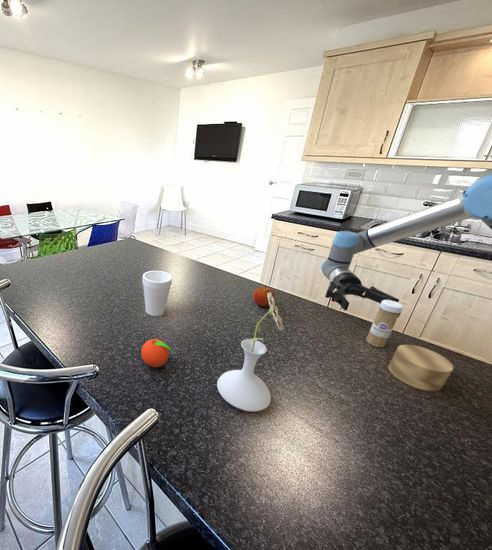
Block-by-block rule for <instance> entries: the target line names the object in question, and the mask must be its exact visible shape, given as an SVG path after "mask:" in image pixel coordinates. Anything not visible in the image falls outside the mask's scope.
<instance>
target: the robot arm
mask: <svg viewBox="0 0 492 550" xmlns="http://www.w3.org/2000/svg"><path fill="white" fill-rule="evenodd" d="M469 219H474V220H481V221H482V222H483V223H484V224H485V225H486V226H487V227H488V228H489V229H490V230H491V231H492V173H491V174H490V173H489V174H487V175H485V176H483V177H481V178H479V179H478V180H476V181H475V182H473V183H472V184H471V185H469V187H468V188H467V189H465V190H464V191H462V192H461V193H460V195H459V196H457V197H453V198H451V199H448V200H446V201H442V202H440V203H437V204H434V205H432V206H428V207H426V208H423V209H420V210H418V211H415V212H411V213H409V214H407V215H404V216H400V217H398V218H396V219H393V220H390V221H387V222H384V223H381V224H379V225H376V226H374V227H371V228H368V229H364V230H362V231H360V232H354V231H349V230H340V231H337V232H336V233H335V235H334V238H333V240H332V245H331V248H330V250H329V254H328V257H327V259H325V260H324V261H323V262H322V263H321V265H320V270H321V272H322V274H323V276H324V277H325V278H326V279H328V280H329V284H328V287H327V289H326V293H325V296H324V298H326V299H330V301H331V302H333V303H336V304H338V305H339V306H340V307H341V308H342V310H343V311H348V308H349V306H350V301H348V299H347V298H346V297H345V296H346V295H347V296H350V295H351V296H355V297H360V298H362V299H368V300H371V301H373V302H376V303H378V304H381V302H382V301H383V300H392V301H395V302H398V303H400V302H399V301H400V299H399V298H397V297H395V296H393V295H390V294H388V293H387V292H384V291H383V290H381V289H378V288H376V287H375V286H373V285H372V286H370V287H366V286H364V285H363V284H362V281H361V279H360V278H359V277H358V276H357V275H356V274H355V273H354V272H353V271H351V269H350V266H351V264H352V261H353V258H354V255H356V254H359V253H362V252H365V251H369V250H371V249H375V248H377V247H378V248H379V247H380V246H384V245H388V244H391V243H394V242H397V241H400V240H405V239H407V238H410V237H414V236H416V235H420V234H423V233H426V232H427V233H428V232H430V231H433V230H436V229H439V228H442V227H443V228H444V227H446V226H449V225H452V224H455V223H460V222H462V221H466V220H469ZM401 314H402V312H401V313H400V314H399V315H398V318H397V319H399V318H400V316H401Z"/></svg>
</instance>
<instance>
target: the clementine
mask: <svg viewBox="0 0 492 550" xmlns="http://www.w3.org/2000/svg"><path fill="white" fill-rule="evenodd" d="M140 351H141V353H140V355H141V358H142V360H143V362H144V363H145V364H146V365H147V366H149V367H151V368H159V367H162V366H163V365H164V364H165V363H166V362H167V361H168V360H169V356H170V355H169V354H170V353H169V352H171V354H172V355H173V354H174V353H173V350H172V349H171V347H169V345H167V343H165V342H164V341H162V340H161V339H158V338H153V339H151V338H150V339H149V340H146V342H145V343H144V344H143V345H142V347H141V350H140Z"/></svg>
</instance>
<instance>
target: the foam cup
mask: <svg viewBox="0 0 492 550" xmlns="http://www.w3.org/2000/svg"><path fill="white" fill-rule="evenodd" d="M172 282H173V276H172V274H170V273H168V272H166V271H163V270H149V271H146V272H144V273H143V274H142V286H143V296H144V308H145V313H146V314H147V315H149V316H152V317H160V316H162V315H164V313H165V312H166V311H165V310H166V307H167V303H168V299H169V294H170V289H171V286H172V284H173V283H172Z"/></svg>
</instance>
